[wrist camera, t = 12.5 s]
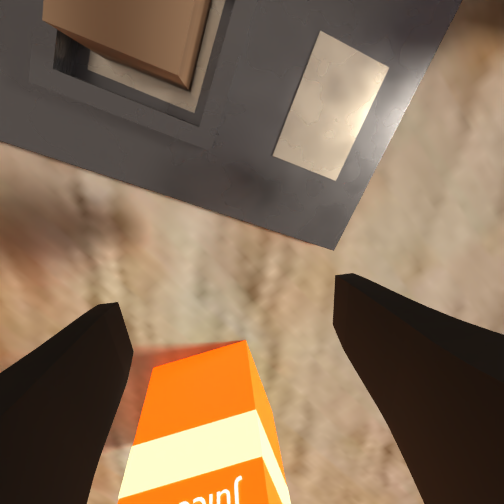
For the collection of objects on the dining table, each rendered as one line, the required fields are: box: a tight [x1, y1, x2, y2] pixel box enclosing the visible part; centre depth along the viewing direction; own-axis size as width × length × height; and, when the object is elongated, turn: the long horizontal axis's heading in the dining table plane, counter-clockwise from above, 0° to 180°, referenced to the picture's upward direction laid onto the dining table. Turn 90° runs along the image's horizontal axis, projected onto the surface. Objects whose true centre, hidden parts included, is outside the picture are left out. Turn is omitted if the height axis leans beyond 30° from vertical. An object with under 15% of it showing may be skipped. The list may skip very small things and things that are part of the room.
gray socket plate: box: [0, 0, 462, 251], centre depth 13 cm, size 22×14×3 cm, turn 69°
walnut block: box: [42, 0, 212, 92], centre depth 10 cm, size 4×4×5 cm
